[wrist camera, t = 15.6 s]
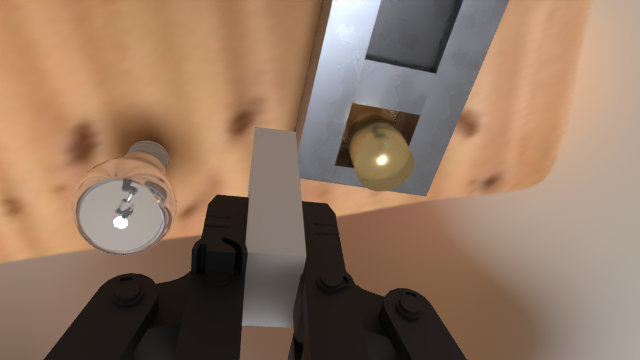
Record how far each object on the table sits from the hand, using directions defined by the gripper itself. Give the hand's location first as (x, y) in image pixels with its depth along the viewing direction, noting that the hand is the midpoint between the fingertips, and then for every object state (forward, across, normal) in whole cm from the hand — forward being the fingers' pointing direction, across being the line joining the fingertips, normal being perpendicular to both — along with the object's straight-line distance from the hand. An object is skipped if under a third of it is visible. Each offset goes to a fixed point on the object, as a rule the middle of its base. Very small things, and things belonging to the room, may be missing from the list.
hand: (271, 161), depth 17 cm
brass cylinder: (+21, +9, -8) cm, 24 cm away
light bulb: (+21, -9, -13) cm, 26 cm away
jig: (+21, +9, -3) cm, 23 cm away
